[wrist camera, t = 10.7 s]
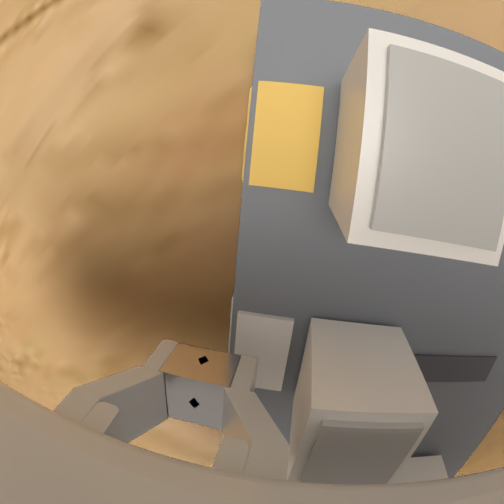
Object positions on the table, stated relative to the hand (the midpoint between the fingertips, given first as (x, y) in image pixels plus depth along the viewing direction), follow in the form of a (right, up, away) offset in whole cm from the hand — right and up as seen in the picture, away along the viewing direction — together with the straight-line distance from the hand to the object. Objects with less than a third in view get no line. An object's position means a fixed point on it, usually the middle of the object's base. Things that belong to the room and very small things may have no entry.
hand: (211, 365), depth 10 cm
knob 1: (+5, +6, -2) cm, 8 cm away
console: (+8, +1, +4) cm, 9 cm away
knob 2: (+4, 0, +1) cm, 4 cm away
